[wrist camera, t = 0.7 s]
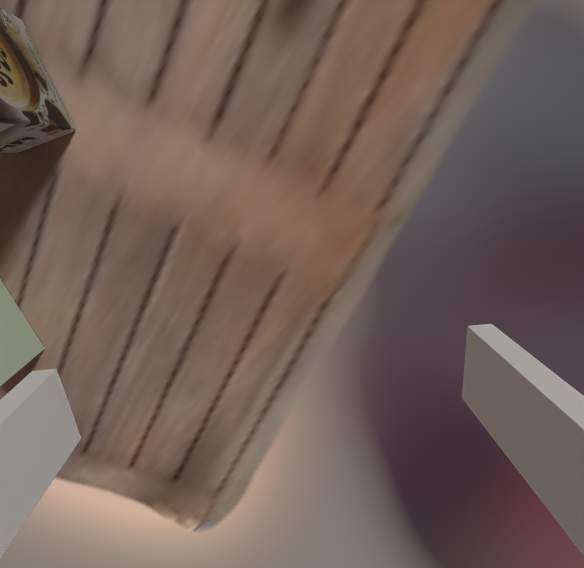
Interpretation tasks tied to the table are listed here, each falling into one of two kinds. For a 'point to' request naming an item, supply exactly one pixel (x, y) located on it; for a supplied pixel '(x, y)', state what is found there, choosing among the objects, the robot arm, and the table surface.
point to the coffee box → (26, 92)
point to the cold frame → (14, 337)
